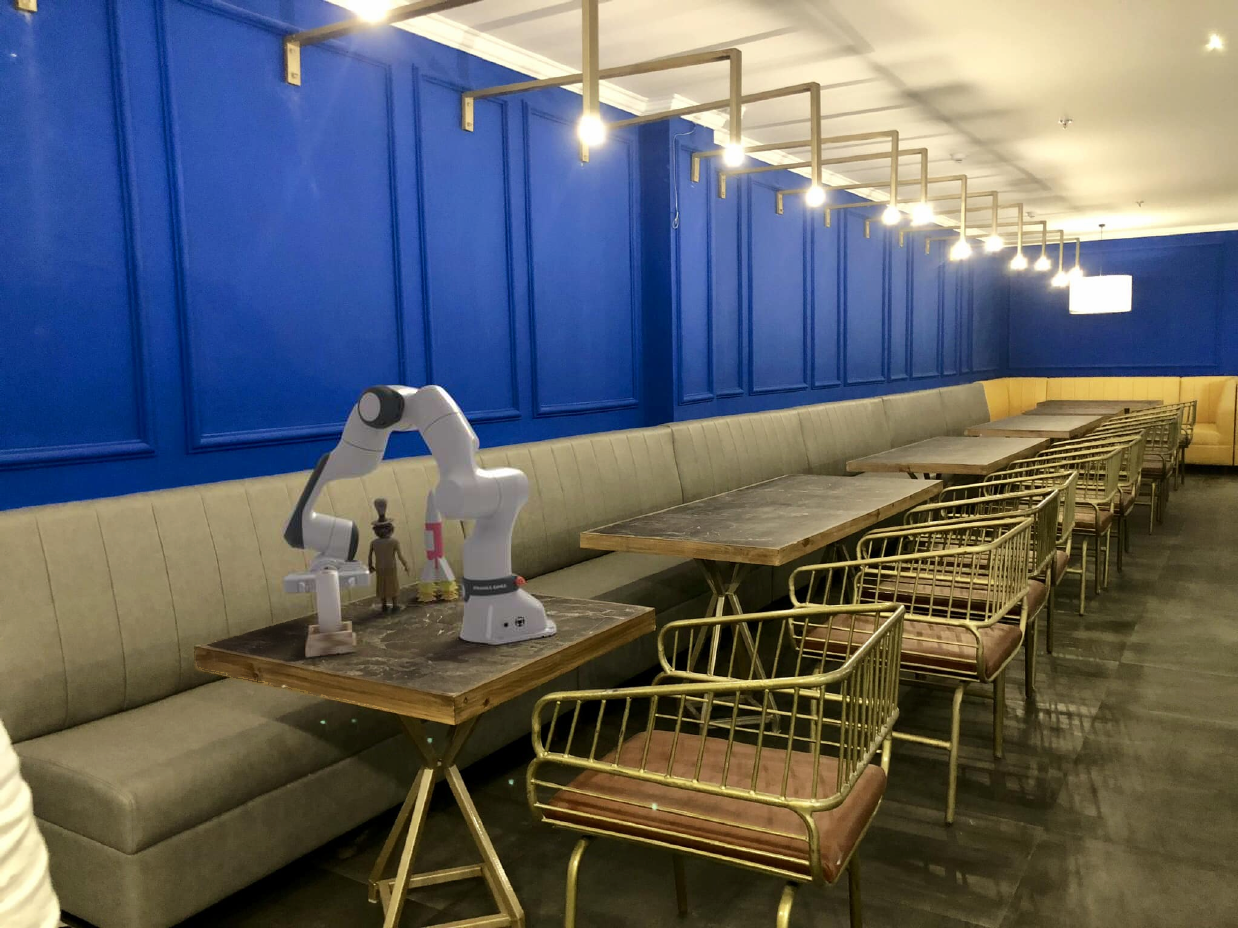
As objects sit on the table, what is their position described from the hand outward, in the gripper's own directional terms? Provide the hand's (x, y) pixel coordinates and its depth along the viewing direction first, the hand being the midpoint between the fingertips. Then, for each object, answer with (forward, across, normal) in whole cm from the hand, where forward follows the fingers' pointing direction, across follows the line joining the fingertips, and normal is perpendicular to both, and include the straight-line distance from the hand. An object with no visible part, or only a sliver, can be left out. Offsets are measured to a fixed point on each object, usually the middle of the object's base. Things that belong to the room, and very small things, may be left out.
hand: (327, 587), depth 233 cm
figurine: (-22, +15, +12) cm, 29 cm away
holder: (+8, 0, +12) cm, 15 cm away
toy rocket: (-31, +28, +12) cm, 44 cm away
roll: (+8, 0, +11) cm, 14 cm away
